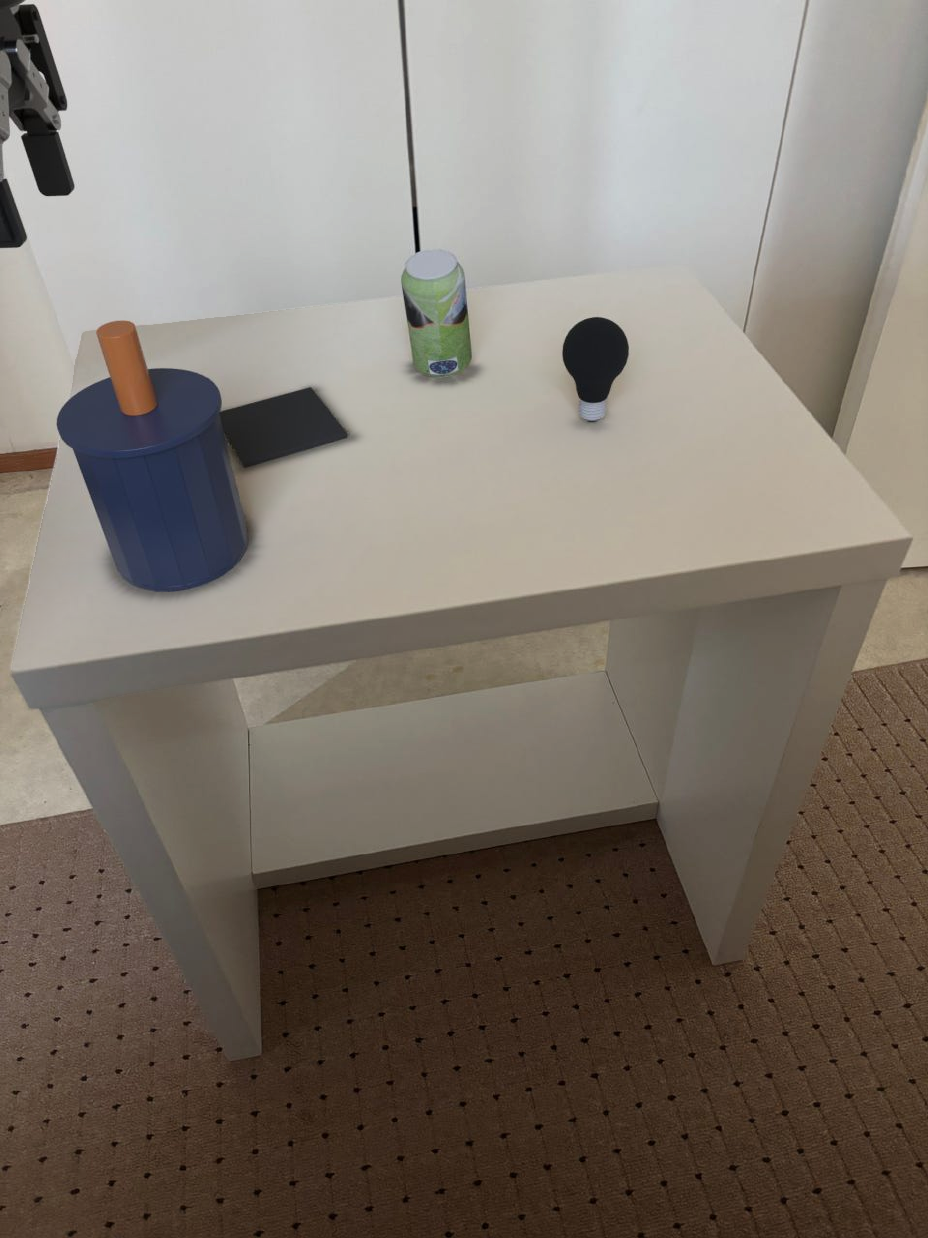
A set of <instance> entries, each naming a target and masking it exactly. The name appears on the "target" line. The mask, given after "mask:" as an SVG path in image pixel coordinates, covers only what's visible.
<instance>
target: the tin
mask: <svg viewBox="0 0 928 1238" xmlns="http://www.w3.org/2000/svg"><path fill="white" fill-rule="evenodd" d="M72 451H73V454H74V457H75V458H76V463H77V464H78V467H79V471H80V473H81V475H82V478H83V480H84V483H85V486H86V489H87V492H88V495H89V497H90V499H91V503H92V505H93V508H94V510H95V514H96V516H97V519H98V522H99V524H100V527H101V530H102V532H103V535H104V538H105V540H106V544H107V546H108V548H109V551H110V554H111V557H112V559H113V562H114V565H115V567H116V569H117V570H116V571H117V572H118V574H119V575H120V576H121V578H122V579H123V580H125V581H126V582H127V583H129V584H130V585H132V586H135V587H136V588H139V589H141V590H146V591H152V592H162V593H163V592H166V593H167V592H178V591H185V590H190V589H193V588H197V587H201V586H204V585H206V584H208V583H211V582H213V581H216V580H217V579H219V578H221V577H223V576H224V575H225V574H227V573H228V572H230V571H231V570H232V569H233V568H234V567H236V565H238V563H239V562H240V561H241V560H242V558H243V557H244V555H245V553H246V551H247V549H248V544H249V536H248V527H247V523H246V519H245V514H244V510H243V506H242V502H241V499H240V494H239V489H238V486H237V485H238V484H237V481H236V477H235V473H234V470H233V465H232V461H231V458H230V453H229V449H228V444H227V439H226V435H225V434H224V431H223V427H222V423H221V419H220V415H218V417H217V418H216V420H215V421H214V422H213V423H212V424H211V425H210V426H209V427H208V428H207V429H206V430H205V431H203V432H202V433H200V434H199V435H197V436H196V437H194V438H192V439H191V440H189V441H187V442H185V443H183V444H180V445H178V446H175V447H173V448H170V449H167V450H164V451H161V452H157V453H152V454H148V455H142V456H136V457H127V458H105V457H96V456H91V455H87V454H84V453H81V452H78V451H76V450H74V449H72Z"/></svg>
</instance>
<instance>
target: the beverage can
mask: <svg viewBox="0 0 928 1238" xmlns="http://www.w3.org/2000/svg"><path fill="white" fill-rule="evenodd" d="M400 283H401V290H402V296H403V303H404V310H405V316H406V322H407V331H408V337H409V343H410V348H411V350H410V351H411V357H412V364H413V366H414V367H415V369H416V370H418V372H419V373H421V374H423V375H426V376H429V377H431V378H437V379H444V378H451V377H453V376H456V375H457V374H459V373H460V372H462V371H464V370H465V369H466V368H467V367H468V366H469V365H470V364H471V361H472V358H473V351H472V343H471V331H470V320H469V319H470V318H469V310H468V299H467V288H466V287H467V286H466V275H465V271H464V267H463V266H462V265H461V264H460V262H459V261H458V258H457V257H456V255H455V254H454V253H452V252H451V251H449V250H446V249H441V248H428V249H424V250H420V251H417V252H416V253H414V254H412V255H410V256H409V257H408V259H407V260H406V261H405V265H404V269H403V270H402V273H401V276H400Z"/></svg>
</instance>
